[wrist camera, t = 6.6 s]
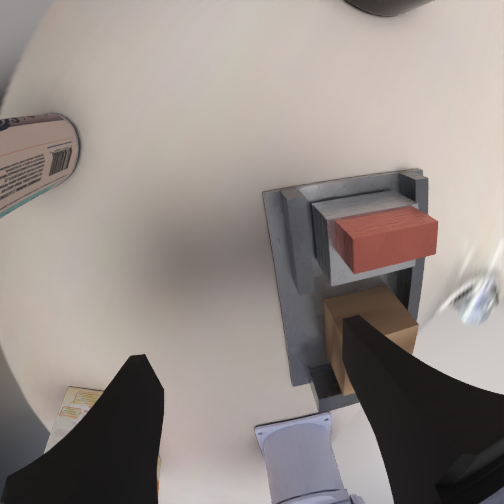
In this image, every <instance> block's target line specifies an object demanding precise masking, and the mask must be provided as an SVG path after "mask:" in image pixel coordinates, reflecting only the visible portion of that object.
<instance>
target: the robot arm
mask: <svg viewBox="0 0 504 504" xmlns="http://www.w3.org/2000/svg"><path fill="white" fill-rule="evenodd" d="M342 360H343V363H344V366H345V369H346V372H347V375H348V378H349V381H350V383H351V385H352V387H353V389H354V391H355V393H356V395H357V398H358V400H359V402H360V404H361V406H362V408H363V410H364V412H365V414H366V416H367V418H368V420H369V422H370V424H371V427H372V429H373V431H374V434H375V436H376V439H377V442H378V445H379V448H380V451H381V455H382V458H383V461H384V464H385V468H386V472H387V475H388V479H389V483H390V487H391V491H392V495H393V500H394V504H504V395H502V394H498V393H494V392H490V391H487V390H483V389H480V388H477V387H474V386H472V385H469V384H466V383H464V382H461V381H459V380H457V379H454V378H452V377H450V376H448V375H446V374H444V373H442V372H440V371H438V370H436V369H434V368H432V367H430V366H428V365H427V364H425V363H424V362H422V361H420V360H419V359H417V358H415V357H414V356H412V355H411V354H410V353H408V352H407V351H405V350H404V349H402V348H401V347H400V346H398V345H397V344H396V343H394V342H393V341H391V340H390V339H389V338H387V337H386V336H385V335H384V334H382V333H381V332H380V331H378V330H377V329H376V328H375V327H373V326H372V325H371V324H370V323H369V322H367V321H366V320H365V319H364V318H362V317H361V316H360V315H355V316H352V317H348V318H344V319H343V335H342ZM163 416H164V388H163V387H162V385H161V383H160V381H159V379H158V378H157V376H156V374H155V372H154V370H153V368H152V367H151V365H150V363H149V361H148V359H147V357H146V355H145V354H142V355H133V356H130V357H129V358H128V360H127V361H126V362H125V363H124V365H123V366H122V368H121V369H120V370H119V372H118V373H117V374H116V376H115V377H114V379H113V380H112V381H111V383H110V384H109V385H108V387H107V388H106V389H105V391H104V392H103V393H102V395H101V396H100V397H99V399H98V400H97V401H96V402H95V404H94V405H93V406H92V407H91V409H90V410H89V411H88V412H87V413H86V415H85V416H84V417H83V418H82V419H81V420H80V421H79V423H78V424H77V425H76V426H75V427H74V428H73V429H72V430H71V431H70V432H69V433H68V434H67V435H66V436H65V437H64V438H62V439H61V440H60V441H59V442H58V443H57V444H56V445H54V446H53V447H52V448H51V449H50V450H49V451H47V452H46V453H45V454H43V455H42V456H41V457H39V458H38V459H36V460H35V461H34V462H32V463H30V464H29V465H27V466H26V467H24V468H22V469H20V470H19V471H17V472H15V473H13V474H11V475H9V476H8V477H7V479H6V483H5V486H4V489H3V493H2V497H1V500H0V503H1V504H158V492H157V464H158V454H159V447H160V439H161V432H162V424H163ZM330 432H331V414H330V413H329V412H325V413H321V414H317V415H313V416H309V417H304V418H300V419H295V420H291V421H286V422H281V423H275V424H270V425H264V426H258V427H256V428H255V434H256V437H257V439H258V442H259V445H260V448H261V450H262V453H263V456H264V458H265V461H266V467H267V474H268V480H269V487H270V494H271V501H272V504H365V502H364V500H363V498H362V497H360V496H357V495H356V494H352V495H350V496H349V495H348V492H347V489H344V486H343V483H342V480H341V476H340V473H339V470H338V466H337V463H336V459H335V456H334V453H333V449H332V446H331V443H330Z"/></svg>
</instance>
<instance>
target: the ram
mask: <svg viewBox="0 0 504 504" xmlns="http://www.w3.org/2000/svg"><path fill="white" fill-rule="evenodd" d="M311 205H312V213H313V223H314V233H315V243H316V254H317V263H318V265H319V266H320V268H321V270H322V271H323V273H324V275H325V276H326V278H327V280H328V281H329V283H330V285H331V286H336V285H341V284H345V283H349V282H353V281H358V280H362V279H366V278H370V277H374V276H378V275H382V274H386V273H390V272H394V271H398V270H402V269H405V268H409V267H413V266H415V261H416V259H419V258H422V257H426V256H430V255H434V254H436V245H437V233H438V221H437V220H435V219H433V218H432V217H430V216H429V215H427V214H425V213H423V212H422V211H420V210H418V203H416V202H415V201H413V200H411V199H409V198H407V197H405V196H403V195H402V194H400V193H398V192H396V191H394V190H390V191H384V192H377V193H371V194H364V195H358V196H352V197H346V198H340V199H334V200H328V201H322V202H316V203H311Z"/></svg>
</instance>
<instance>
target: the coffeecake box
mask: <svg viewBox="0 0 504 504" xmlns="http://www.w3.org/2000/svg"><path fill="white" fill-rule="evenodd" d="M103 392H104V391H94V390H89V389H82V388H75V387H68V389H67V392H66V394H65V397H64V400H63V402H62V405H61V407H60V410H59V412H58V415H57V418H56V420H55V423H54V426H53V428H52V431H51V434H50V437H49V440H48V443H47V445H46V448H45V452H44V454H45V453H46V452H47V451H49V450H50V449H51V448H52V447H53V446H54V445H56V444H57V443H58V442H59V441H60V440H61V439H62V438H64V437H65V436H66V435H67V434H68V433H69V432H70V431H71V430H72V429H73V428H74V427H75V426H76V425H77V424H78V423H79V421H80V420H81V419H82V418H83V417H84V416H85V415H86V413H87V412H88V411H89V410H90V409H91V407H92V406H93V405H94V404H95V402H96V401H97V400H98V399H99V397H100V396H101V395H102V393H103ZM160 466H161V460H160V458H159V456H158V464H157V492H158V489H159V476H160Z"/></svg>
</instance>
